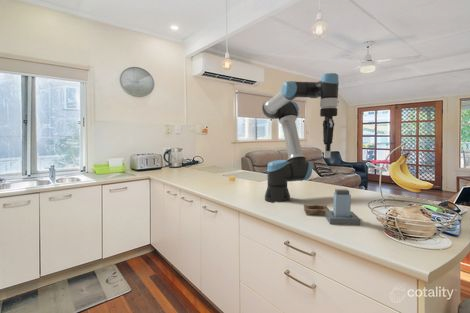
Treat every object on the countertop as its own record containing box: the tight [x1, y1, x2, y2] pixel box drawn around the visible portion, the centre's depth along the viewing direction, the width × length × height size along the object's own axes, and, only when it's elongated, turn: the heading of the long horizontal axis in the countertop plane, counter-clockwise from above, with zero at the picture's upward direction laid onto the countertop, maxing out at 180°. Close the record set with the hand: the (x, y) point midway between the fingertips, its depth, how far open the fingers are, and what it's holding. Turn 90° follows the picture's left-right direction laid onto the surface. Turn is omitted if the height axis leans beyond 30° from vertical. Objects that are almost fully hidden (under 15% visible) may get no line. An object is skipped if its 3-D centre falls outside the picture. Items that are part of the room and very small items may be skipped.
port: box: [324, 210, 361, 226], centre depth 107 cm, size 12×10×3 cm
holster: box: [303, 204, 331, 217], centre depth 118 cm, size 10×8×3 cm
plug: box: [332, 188, 352, 217], centre depth 107 cm, size 6×4×14 cm, turn 82°
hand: (327, 157), depth 117 cm, fingers closed
